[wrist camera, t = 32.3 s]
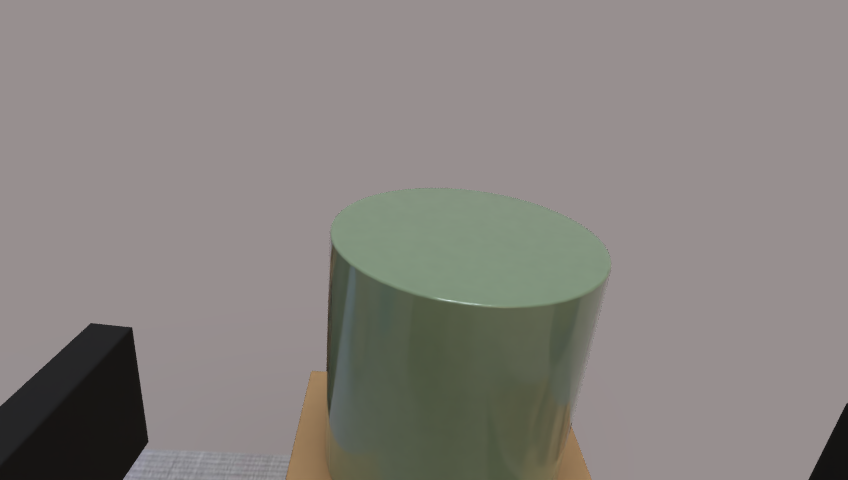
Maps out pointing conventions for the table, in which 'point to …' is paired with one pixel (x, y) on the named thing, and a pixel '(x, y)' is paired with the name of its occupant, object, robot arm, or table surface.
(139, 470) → the table surface
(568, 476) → the stand
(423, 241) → the green coffee cup
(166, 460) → the table surface
